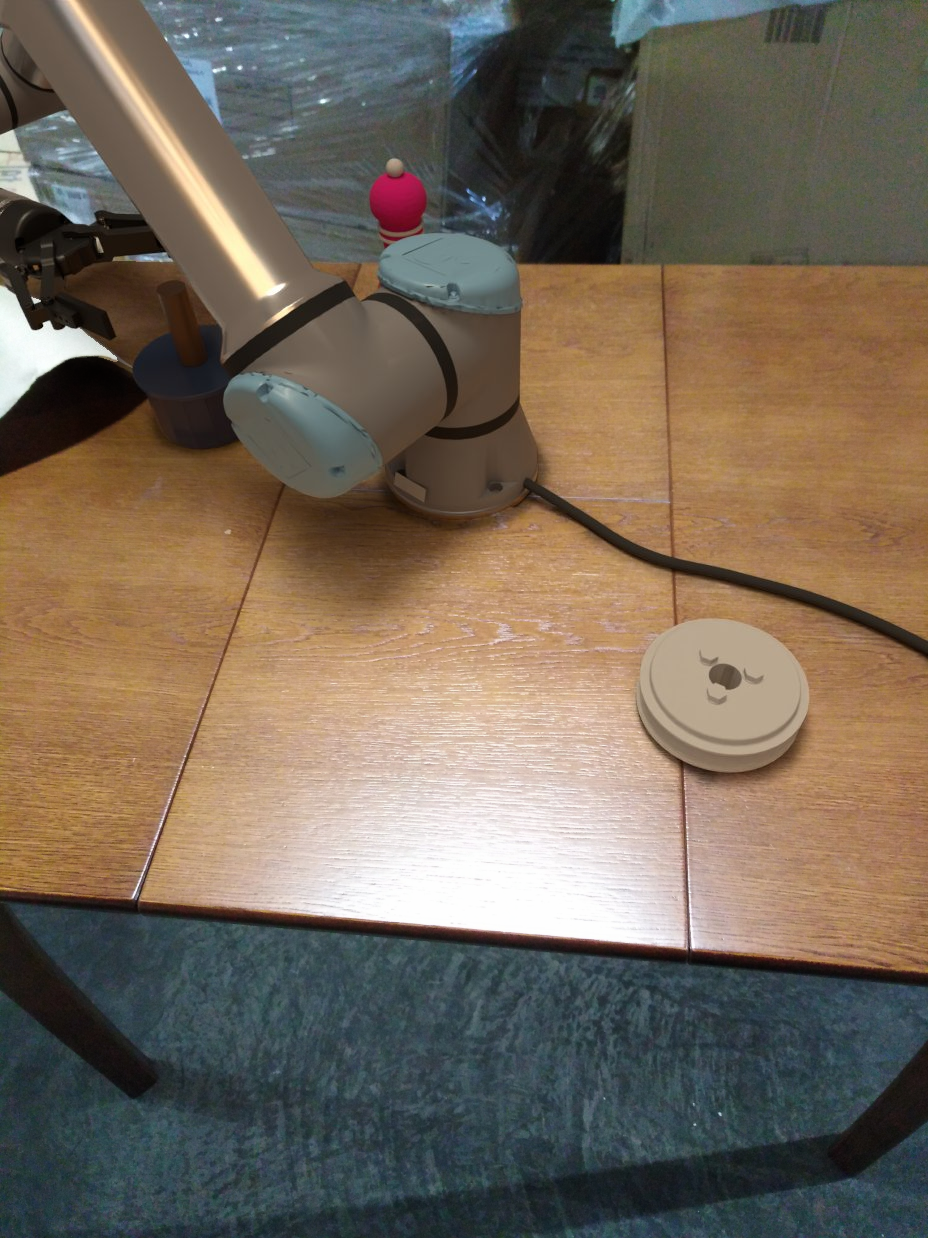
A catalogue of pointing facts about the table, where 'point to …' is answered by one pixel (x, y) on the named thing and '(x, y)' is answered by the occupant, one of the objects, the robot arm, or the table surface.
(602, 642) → the table surface
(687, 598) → the table surface
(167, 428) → the bowl
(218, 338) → the bowl lid
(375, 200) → the pepper mill
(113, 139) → the robot arm
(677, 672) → the beige round base
